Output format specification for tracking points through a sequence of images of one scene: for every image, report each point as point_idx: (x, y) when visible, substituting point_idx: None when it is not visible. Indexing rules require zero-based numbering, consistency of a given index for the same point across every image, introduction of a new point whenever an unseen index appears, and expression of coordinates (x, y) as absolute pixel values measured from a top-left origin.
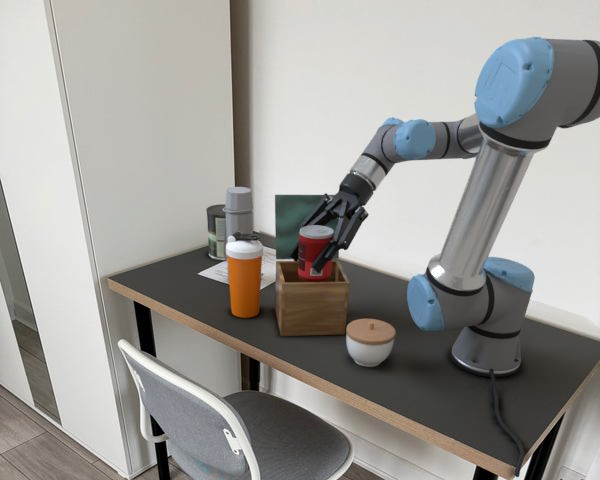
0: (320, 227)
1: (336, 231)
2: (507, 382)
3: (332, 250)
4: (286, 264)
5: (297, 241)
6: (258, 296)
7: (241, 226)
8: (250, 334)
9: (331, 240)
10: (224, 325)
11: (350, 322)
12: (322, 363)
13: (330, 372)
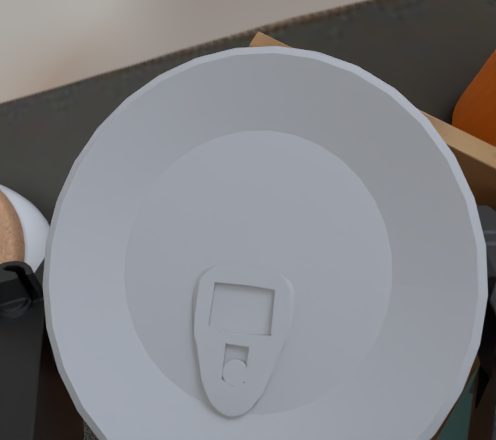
0: (358, 424)
1: (10, 421)
2: None
3: (39, 269)
4: None
5: (488, 217)
6: (486, 128)
7: None
8: (342, 56)
9: (11, 275)
10: (446, 14)
11: (11, 229)
12: (80, 139)
13: (34, 129)
